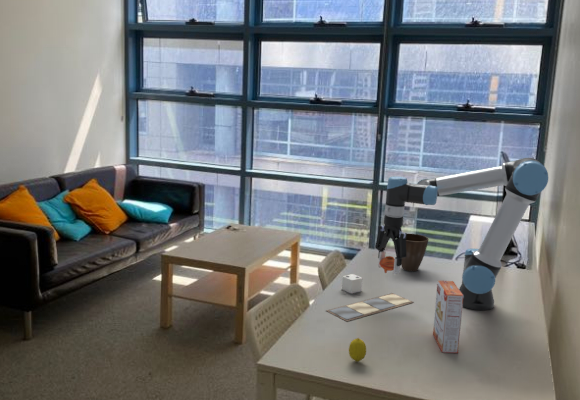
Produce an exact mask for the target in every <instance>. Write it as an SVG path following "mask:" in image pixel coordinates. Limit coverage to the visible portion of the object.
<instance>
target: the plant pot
mask: <svg viewBox="0 0 580 400" xmlns="http://www.w3.org/2000/svg"><path fill="white" fill-rule="evenodd" d="M428 242H429V237H427V236H425V235H422V234H417V233H407V237H406V257H405V258H402V263H401V266H400V267H401V269H402V270H404V271H407V272H417V271H418V270H419V268H420V266H421V264H422V262H423V260H424V257H425V254H426V251H427V248H428ZM399 255H400V254H399Z"/></svg>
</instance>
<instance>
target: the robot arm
mask: <svg viewBox="0 0 580 400" xmlns="http://www.w3.org/2000/svg"><path fill="white" fill-rule="evenodd" d="M548 183H549V172H548V170H547V167H545V165H544V164H543V163H541V162H540V161H539V160H538V159H536V158H534V157H523V158H519V159H517V160H512V161H507V162H503V163H502V164H501V165H500V166H495V167H494V166H493V167H490V168H489V167H488V168H483V169H479V170H478V169H477V170H472V171H467V172H461V173H457V174H456V173H455V174H450V175H445V176H439V177H433V178H423V179H420V180H419V181H418V182H417V183H410V182H408V179H407V178H406V177H405V176H397V175H396V176H390V177H389V178H388V179H387V184H386V185H387V186H386V196H385V205H384V208H385V209H384V216H383V224H384V225H383V224H382V225H378V231H377V232H378V233H377V237H376V242H375V247H374V248H375V249H377V250H378V254H377V255H378V256H377V258H378V264H377V265H378V266H377V268H382V267H381V266H380V264H379V262H380V261H381V260H382V259H383V258H385V257H386V247H387V245H388V243H389V241H390V239H391V240H392V242H393V246H394V251H395V257H394V259H395V260H394V270H392V271H393V272H392V274H394V275H396V274H400V272H401V271H400V270H401V269H400V268H401V267H402V266H401V263H402V258H405V257H406V237H407V234H408V233H407V232H403V231H402V226H403V225H404V215H405V204H406V203H411V204H419V205H425V206H435V205H436V204H437V201H438V197H440V196H448V195H453V194H458V193H464V192H465V193H466V192H470V191H471V192H473V191H477V190H483V189H489V188H496V187H501V186H505V188H504V189H505V192H506V195H505V197H504V199H503V201H502V203H501V205H500V207H499V209H498V210H497V213H496V215H495V217H494V219H493V220H492V223H491V225H490V226H489V229H488V230H487V233H486V234H485V236H484V239H483V241H482V242H481V244H480V247H479V248H467V249H465V253H464V260H463V270H462V275H461V279H462V281H461V285H460V287H459V288H458V289H459V290H460V291H461V293H462V294H463V296H464V299H463V308H466V309H469V310H475V311H488V310H489V311H490V310H492V309H493V308H494V306H495V299H494V294H493V290H492V289H493V288H494V287H495V284H496V278H497V277H498V274H499V272H501V271H500V270H501V268H502V267H503V265H502V262H501V259H502V258H503V255H505V252H506V250H507V247H508V246H509V244H510V242H511V240H512V238H513V236H514V234H515V233H516V230H517V228H518V227H519V225H520V223H521V221H522V219H523V217H524V215H525V213H526V211H527V210H528V207H529V205H531V204H533V203H536V201H537V200H538V198H539V195H540V194H541V193H542V192H543V191H544V190H545V189H546V187H547V185H548ZM399 254H400V255H399Z"/></svg>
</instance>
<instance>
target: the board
mask: <svg viewBox="0 0 580 400" xmlns="http://www.w3.org/2000/svg"><path fill="white" fill-rule="evenodd" d="M413 303H414V301H412V300H410V299H408V298H405V297H402V296H401V295H398V294H396V293H392V292H390V293H386V294H384V295H380V296H376V297H372V298H368V299H364V300H360V301H357V302H353V303H350V304H346V305H342V306H341V305H340V306H337V307H334V308H331V309H326V310H325V312H328V313H329V314H332V315H333V316H335V317H337V318H339V319H341V320H344V321H345V322H352V321H355V320H358V319H361V318H365V317H368V316H371V315H375V314H378V313H382V312H385V311H390V310H393V309H396V308H400V307H404V306H407V305H410V304H413Z"/></svg>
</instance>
